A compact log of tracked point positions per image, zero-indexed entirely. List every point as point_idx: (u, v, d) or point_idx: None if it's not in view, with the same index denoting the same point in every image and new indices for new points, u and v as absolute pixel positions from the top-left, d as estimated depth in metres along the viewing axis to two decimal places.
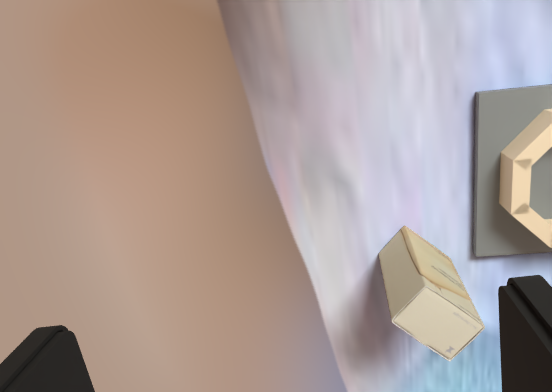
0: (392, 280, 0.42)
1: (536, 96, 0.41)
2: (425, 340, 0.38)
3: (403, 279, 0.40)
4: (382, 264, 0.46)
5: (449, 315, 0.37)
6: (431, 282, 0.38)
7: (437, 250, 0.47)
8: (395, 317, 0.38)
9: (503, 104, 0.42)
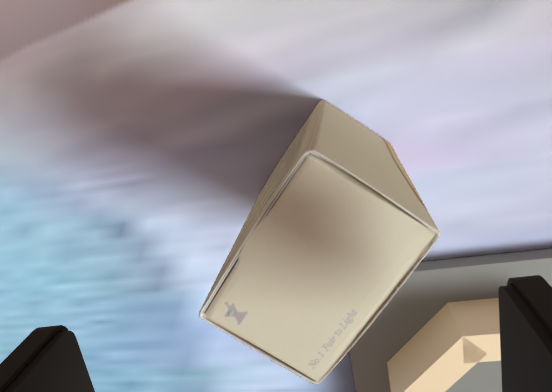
0: (345, 136, 0.17)
1: None
2: (254, 250, 0.13)
3: (375, 164, 0.15)
4: (327, 109, 0.21)
5: (345, 302, 0.13)
6: None
7: None
8: (322, 159, 0.12)
9: None
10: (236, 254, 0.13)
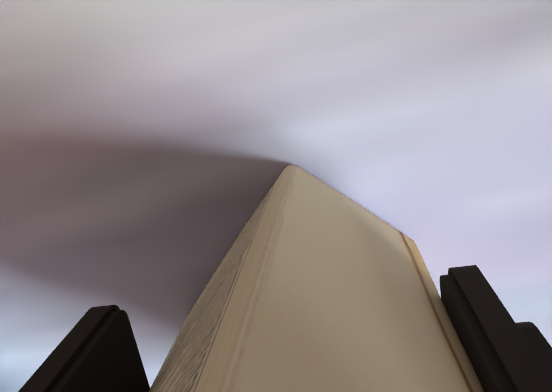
0: (330, 327, 0.06)
1: None
2: None
3: None
4: (296, 199, 0.10)
5: None
6: None
7: None
8: None
9: None
10: None
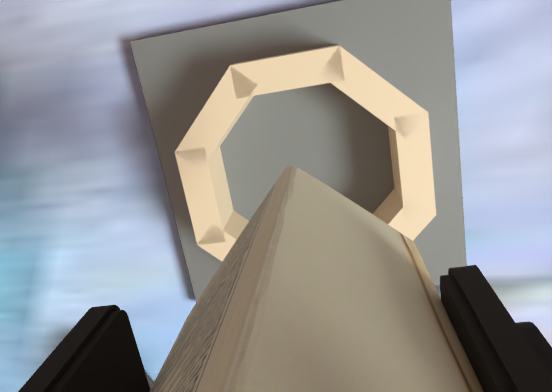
0: (331, 329, 0.06)
1: (439, 85, 0.24)
2: None
3: None
4: (296, 200, 0.10)
5: None
6: None
7: None
8: None
9: (426, 30, 0.23)
10: None
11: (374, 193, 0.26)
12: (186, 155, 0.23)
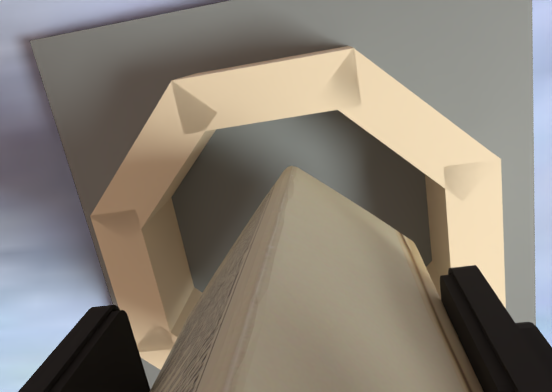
0: (330, 330, 0.06)
1: (507, 110, 0.15)
2: None
3: None
4: (296, 200, 0.10)
5: None
6: None
7: None
8: None
9: (489, 23, 0.14)
10: None
11: None
12: (108, 221, 0.15)
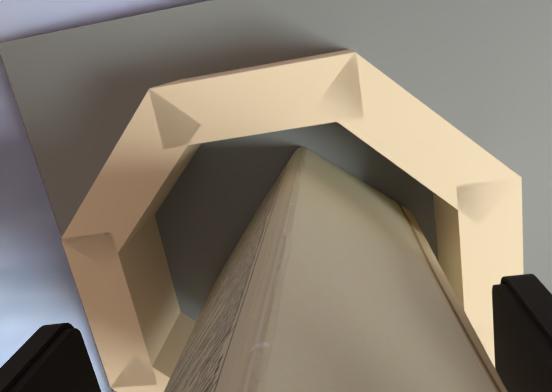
0: (342, 260, 0.08)
1: (524, 120, 0.14)
2: None
3: (416, 347, 0.07)
4: (307, 173, 0.12)
5: None
6: None
7: None
8: None
9: (505, 24, 0.13)
10: None
11: None
12: (81, 245, 0.13)
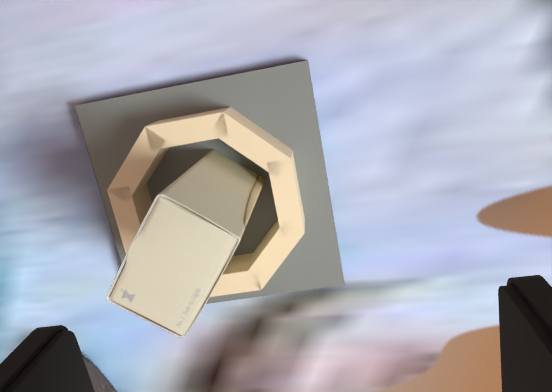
0: (206, 180, 0.26)
1: (308, 136, 0.32)
2: (134, 255, 0.22)
3: (220, 197, 0.24)
4: (209, 158, 0.30)
5: (192, 283, 0.22)
6: None
7: None
8: (167, 198, 0.21)
9: (294, 96, 0.31)
10: (124, 258, 0.22)
11: (267, 217, 0.33)
12: (116, 192, 0.30)
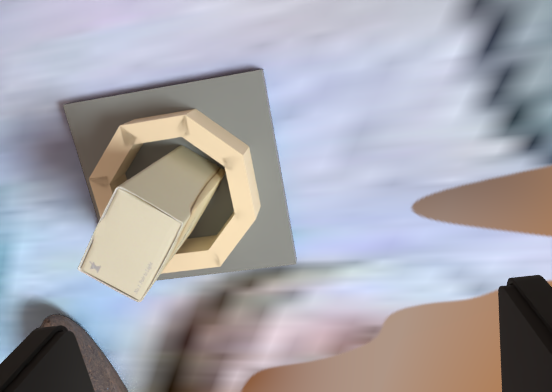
0: (165, 173, 0.31)
1: (262, 135, 0.37)
2: (100, 234, 0.27)
3: (174, 189, 0.29)
4: (174, 153, 0.35)
5: (146, 258, 0.27)
6: (184, 227, 0.28)
7: (201, 215, 0.38)
8: (124, 190, 0.26)
9: (250, 100, 0.36)
10: (92, 237, 0.27)
11: (228, 204, 0.39)
12: (96, 181, 0.36)
